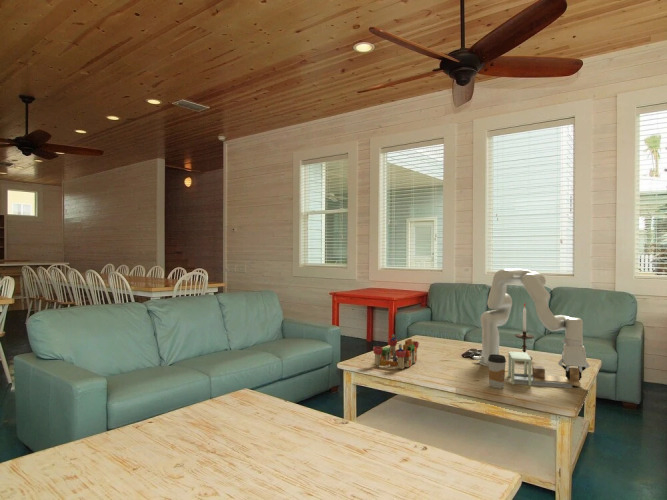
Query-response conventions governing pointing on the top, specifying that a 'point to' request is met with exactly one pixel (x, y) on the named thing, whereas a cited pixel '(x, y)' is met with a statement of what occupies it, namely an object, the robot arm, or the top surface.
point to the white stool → (519, 357)
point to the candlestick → (524, 332)
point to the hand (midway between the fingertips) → (573, 378)
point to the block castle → (397, 353)
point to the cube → (538, 372)
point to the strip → (564, 378)
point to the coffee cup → (496, 370)
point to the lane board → (523, 379)
